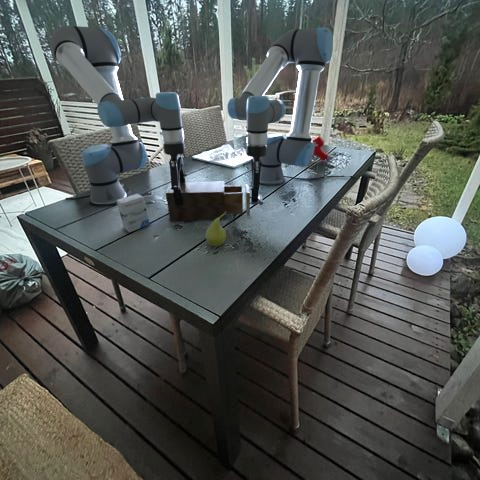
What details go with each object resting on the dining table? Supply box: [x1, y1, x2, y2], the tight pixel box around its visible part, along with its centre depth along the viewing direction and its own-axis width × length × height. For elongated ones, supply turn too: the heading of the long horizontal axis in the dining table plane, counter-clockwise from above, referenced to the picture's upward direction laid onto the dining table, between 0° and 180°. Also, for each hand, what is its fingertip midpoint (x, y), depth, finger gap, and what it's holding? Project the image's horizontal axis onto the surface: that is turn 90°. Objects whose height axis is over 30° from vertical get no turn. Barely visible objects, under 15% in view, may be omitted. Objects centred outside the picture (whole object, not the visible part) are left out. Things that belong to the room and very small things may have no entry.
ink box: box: [116, 193, 151, 233], centre depth 100 cm, size 8×5×12 cm, turn 135°
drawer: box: [224, 183, 264, 217], centre depth 110 cm, size 26×10×10 cm, turn 92°
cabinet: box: [165, 180, 226, 222], centre depth 109 cm, size 22×11×12 cm, turn 92°
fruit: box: [204, 211, 227, 248], centre depth 90 cm, size 7×8×12 cm
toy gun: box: [311, 135, 329, 163], centre depth 172 cm, size 18×4×15 cm
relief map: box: [192, 143, 252, 169], centre depth 179 cm, size 27×35×5 cm
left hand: (181, 198), depth 108 cm, fingers closed on cabinet, 11 cm apart
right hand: (254, 203), depth 111 cm, fingers closed
